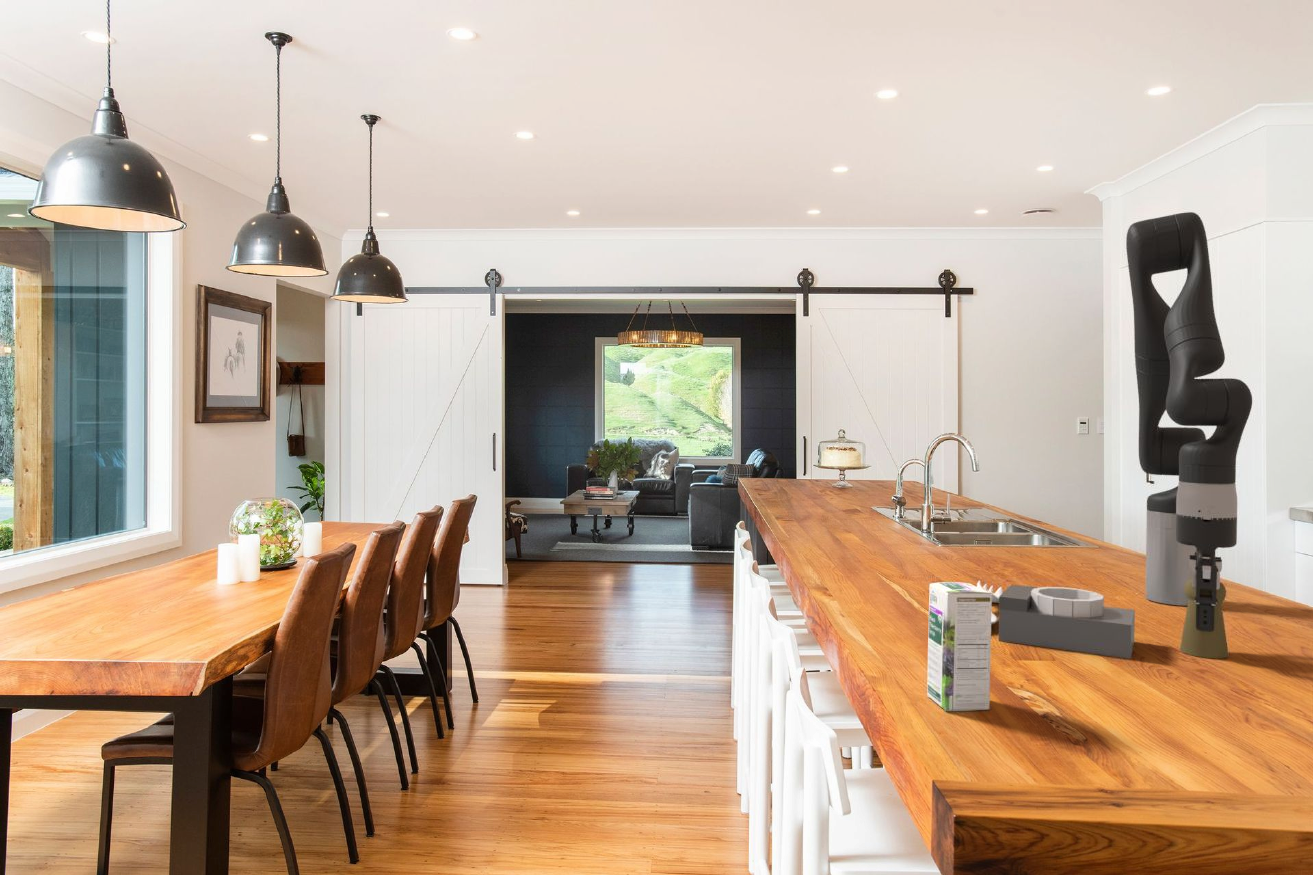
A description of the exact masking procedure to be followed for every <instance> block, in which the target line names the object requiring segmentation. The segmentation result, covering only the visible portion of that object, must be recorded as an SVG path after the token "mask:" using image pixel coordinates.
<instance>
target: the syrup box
mask: <svg viewBox="0 0 1313 875" xmlns="http://www.w3.org/2000/svg"><path fill="white" fill-rule="evenodd" d="M928 586H929V590H928V593H929V599H928V602H929V603H928V633H927V634H928V635H927V638H928V639H927V641H928V642H927V672H926V673H927V676H926V677H927V680H926V682H927V684H926V686H927V687H926V688H927V690H926V692H927V693H926V696H927V698H929V699H931V700H932V701H933V702H935V704H937V705H938V706H939V707H941V708H942V709H943V710H944V711H945V712H967V711H969V712H971V711H987V710H990V701H991V700H990V697H991V694H990V693H991V653H992V651H991V650H992V649H991V648H992V647H991V645H992V625H991V612H992V605H993V604H992V603H993V602H992V594H991V593H992V592H987V591H988V590H987V591H985V590H982V589H980V588H978V587H977V585H973V584H972V583H968V582H959V581H957V582H956V581H944V582H943V581H941V582H934V583H932V582H931V583H929V585H928Z"/></svg>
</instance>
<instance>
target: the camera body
mask: <svg viewBox="0 0 1313 875" xmlns="http://www.w3.org/2000/svg"><path fill="white" fill-rule="evenodd" d="M1104 603H1105V596H1104V595H1103V594H1100V593H1099V592H1095V591H1092V590H1086V589H1081V588H1075V587H1073V588H1072V587H1063V586H1062V587H1061V586H1043V587H1042V586H1041V587H1037V586H1030V585H1024V586H1023V585H1019V584H1010V585H1009V586H1008V587H1007V588H1006V589H1005V590H1003V592H1002V594H1001V595H1000V596H999V603H998V642H1005V643H1013V644H1019V645H1027V646H1035V647H1039V648H1040V647H1042V648H1048V649H1049V648H1050V649H1057V650H1062V651H1063V650H1064V651H1071V652H1077V653H1084V654H1092V655H1098V656H1099V655H1100V656H1106V657H1113V658H1120V659H1126V660H1127V659H1129V660H1131V659H1132V654H1133V649H1134V646H1135V645H1134V644H1135V626H1136V624H1135V622H1136V621H1135V620H1136V618H1135V617H1136V616H1135V615H1136V613H1135V612H1136V609H1129V608H1121V607H1111V606H1105V605H1104Z"/></svg>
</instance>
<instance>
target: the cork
mask: <svg viewBox="0 0 1313 875" xmlns="http://www.w3.org/2000/svg"><path fill="white" fill-rule="evenodd" d="M1184 592H1185V596H1186V597H1187V598H1188V606H1186V612H1185V618H1184V623H1183V624H1184V625H1183V631H1182V636H1181V643H1180V647H1179V651H1181V653H1184V654H1187V655H1190V656H1194V657H1198V658H1204V659H1216V660H1217V659H1226V658H1228V657H1229V655H1230V654H1229V649H1228V643H1227V642H1228V641H1227V640H1228V639H1227V634H1226V629H1225V628H1226V627H1225V626H1226V625H1225V619H1224V614H1223V606H1222V603H1223V602H1224V601H1225V599H1226V596H1227V589H1226V586H1225V585H1224V584H1223V583H1222V582H1221V581H1220V588H1219V590H1218V591H1216V599H1217V604H1216V605H1215V606H1214V631H1212V632H1207V631H1199V630H1197V629H1196V605H1195V602H1194V599H1195V597H1196V590H1195V589H1194V588H1192V579H1190V580H1188V581H1187V582H1186V584H1185V586H1184ZM1200 595H1210V596H1212V591H1211V590H1209V589H1200Z"/></svg>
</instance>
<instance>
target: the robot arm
mask: <svg viewBox="0 0 1313 875" xmlns="http://www.w3.org/2000/svg"><path fill="white" fill-rule="evenodd" d="M1125 243H1126V257H1127V266H1128V272H1129V273H1128V274H1129V282H1130V289H1131V296H1132V298H1131V299H1132V305H1133V330H1134V360H1135V363H1134V364H1135V365H1134V366H1135V372H1136V383H1137V393H1138V396H1137V397H1138V461H1139V465H1140V467H1141V470H1142V471H1143V472H1144V473H1146V474H1149V475H1152V476H1153V475H1155V476H1177V477H1178V484H1177V486H1175V487H1173V488H1170V489H1167V490H1164V491H1160V492H1156V493H1153V494H1150V495H1148V496H1147V499H1146V538H1145V539H1146V540H1145V541H1146V542H1145V543H1146V544H1145V547H1146V548H1145V553H1146V554H1145V599H1146V600H1148V601H1152V602H1155V603H1159V604H1165V605H1173V606H1186V607H1187V606H1188V598H1187V597H1186V596H1185V592H1184V586H1185V584H1186V582H1187V581H1188V580H1190V579H1192V588H1194V589H1195V590H1196V597H1195V599H1194V602H1195V605H1196V629H1197V630H1199V631H1207V632H1212V631H1214V606H1215V605H1216V604H1217V599H1216V591H1218V590H1219V588H1220V582H1221V572H1222V569H1223V560H1222V557H1221V556H1216V551H1217V549H1219V548H1222V549H1227V548H1233V547H1235V546H1236V545H1237V542H1238V540H1237V539H1238V535H1237V534H1238V495H1237V494H1238V493H1237V487H1236V486H1237V485H1236V478H1237V476H1236V475H1237V474H1236V473H1237V472H1236V470H1237V468H1236V467H1237V455H1238V450H1239V447H1240V443H1241V440H1242V435H1243V433H1244V430H1245V428H1246V425H1247V422H1248V420H1249V417H1250V414H1251V411H1252V406H1253V395H1252V392H1251V389H1250V388H1249V386H1248V385H1247V384H1246V383H1245V382H1244V381H1242V380H1241V379H1238V378H1228V377H1227V378H1201V377H1204V376H1207V375H1208V376H1209V375H1211V374H1213V373H1215V372H1217V371H1218V370H1220V369H1221V368H1222V367H1223V365H1224V364H1225V361H1226V355H1225V354H1226V353H1225V350H1224V347H1223V343H1222V339H1221V335H1220V331H1219V327H1218V323H1217V320H1216V315H1215V307H1214V295H1213V283H1212V272H1211V270H1212V269H1211V264H1210V256H1209V254H1210V252H1209V246H1208V245H1209V244H1208V240H1207V233H1206V230H1205V226H1204V223H1203V220H1202V218H1201V217H1200V216H1199V214H1197V213H1196V212H1193V211H1191V212H1190V211H1187V212H1181V213H1174V214H1169V215H1165V216H1160V217H1156V218H1155V217H1154V218H1149V219H1144V220H1139V221H1136V222H1133V223H1132V224H1131V225H1130V226H1129V227H1128V229H1127V232H1126V241H1125ZM1184 269H1186V270H1187V271H1186V274H1187V275H1186V279H1185V282H1184V285H1183V286H1182V287H1181V288H1182V289H1181V291H1180V292H1179V294H1178V296H1177V298H1176V299H1175V301H1174V302H1173V304H1172V305H1171V306H1169V304H1168V303H1167V302H1166V301H1165V300H1164V299H1163V297H1162V296H1161V295H1160V293H1159V292H1158V290H1157V289H1156V287H1155V284H1154V283H1153V280H1152V277H1153V275H1157V274H1163V273H1169V272H1175V271H1180V270H1184ZM1165 412H1166V414H1167V416H1168V417H1169V419H1171V421H1173V422H1174V423H1175V424H1177V425H1179V426H1180V427H1179V426H1178V427H1177V426H1175V427H1174V426H1173V427H1172V426H1171V427H1170V426H1169V427H1168V426H1167V427H1165V426H1163V427H1161V426H1159V424H1160V422H1161V420H1162V417H1163V415H1164V414H1165ZM1182 426H1184V427H1182ZM1198 426H1199V427H1215V430H1214V432H1213V433H1212V435H1211V436H1209V438H1207V436H1206V434H1205V432H1204V430H1203V429H1202V428H1199V427H1198ZM1200 589H1209V590H1211V591H1212V596H1210V595H1200Z"/></svg>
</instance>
